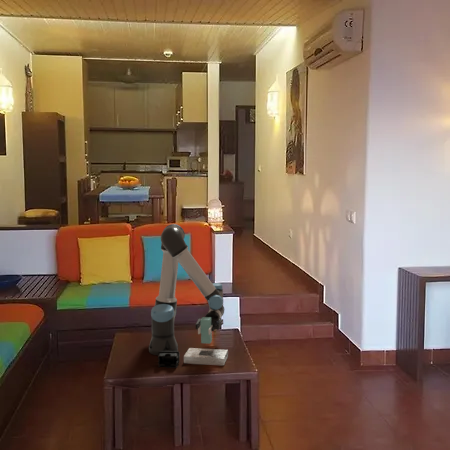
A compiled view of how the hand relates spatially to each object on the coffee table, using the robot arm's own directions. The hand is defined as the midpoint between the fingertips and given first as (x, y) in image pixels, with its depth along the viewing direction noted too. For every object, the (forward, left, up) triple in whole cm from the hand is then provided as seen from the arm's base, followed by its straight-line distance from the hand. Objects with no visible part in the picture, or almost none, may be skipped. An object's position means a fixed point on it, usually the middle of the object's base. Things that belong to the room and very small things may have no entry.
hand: (204, 331), depth 277 cm
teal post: (-1, +5, -7) cm, 9 cm away
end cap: (-16, -7, -17) cm, 24 cm away
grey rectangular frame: (-1, +5, -16) cm, 17 cm away
